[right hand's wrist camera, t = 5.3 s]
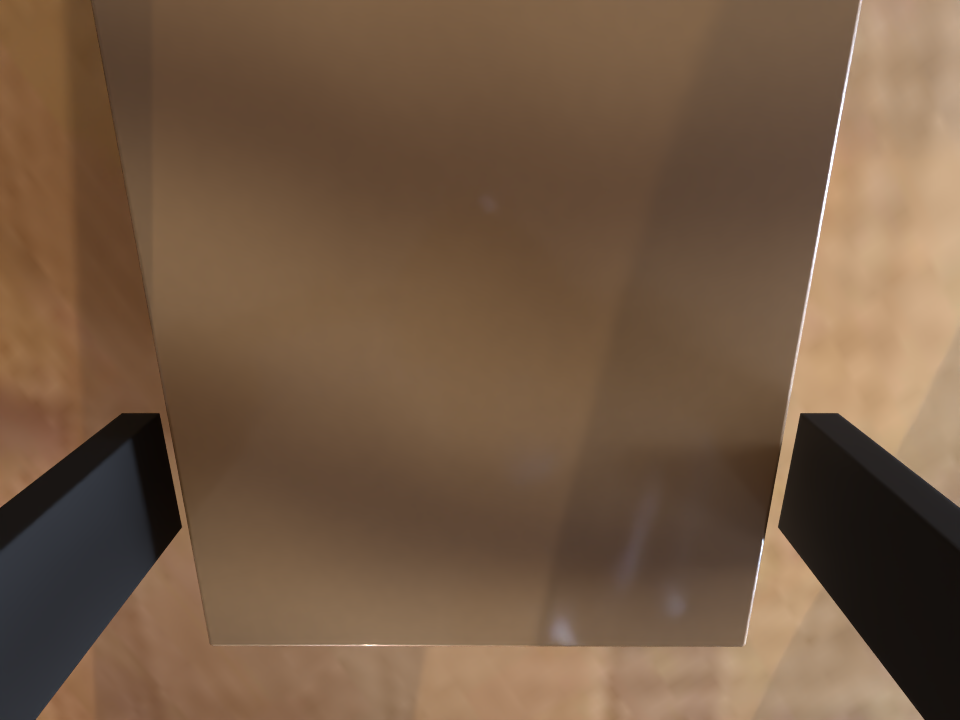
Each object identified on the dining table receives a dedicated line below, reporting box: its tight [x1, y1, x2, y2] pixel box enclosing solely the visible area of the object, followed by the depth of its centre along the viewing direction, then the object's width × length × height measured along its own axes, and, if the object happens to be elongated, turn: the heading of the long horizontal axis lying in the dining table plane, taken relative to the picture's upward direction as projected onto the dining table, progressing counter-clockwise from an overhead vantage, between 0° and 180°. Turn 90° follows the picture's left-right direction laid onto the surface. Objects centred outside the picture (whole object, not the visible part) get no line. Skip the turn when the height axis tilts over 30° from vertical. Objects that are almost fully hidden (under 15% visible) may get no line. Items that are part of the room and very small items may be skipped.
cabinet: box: [91, 0, 862, 647], centre depth 15 cm, size 20×11×11 cm, turn 0°
